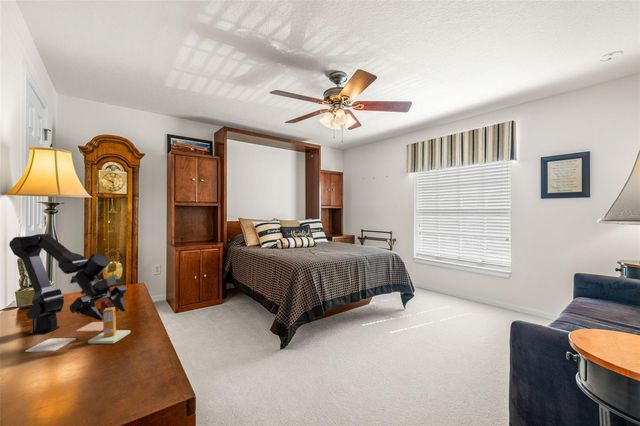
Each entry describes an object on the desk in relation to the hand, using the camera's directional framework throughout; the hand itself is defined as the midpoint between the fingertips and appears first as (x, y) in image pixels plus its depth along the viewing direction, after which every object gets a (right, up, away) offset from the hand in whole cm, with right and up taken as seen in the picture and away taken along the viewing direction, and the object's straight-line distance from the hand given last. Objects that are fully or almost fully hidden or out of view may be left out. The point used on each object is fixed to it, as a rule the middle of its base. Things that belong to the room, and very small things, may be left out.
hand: (113, 315), depth 105 cm
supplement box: (-2, -8, 0) cm, 8 cm away
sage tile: (-1, -9, 0) cm, 9 cm away
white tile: (-17, -9, -6) cm, 20 cm away
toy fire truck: (-24, -9, +30) cm, 39 cm away
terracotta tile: (-15, -9, +10) cm, 20 cm away
